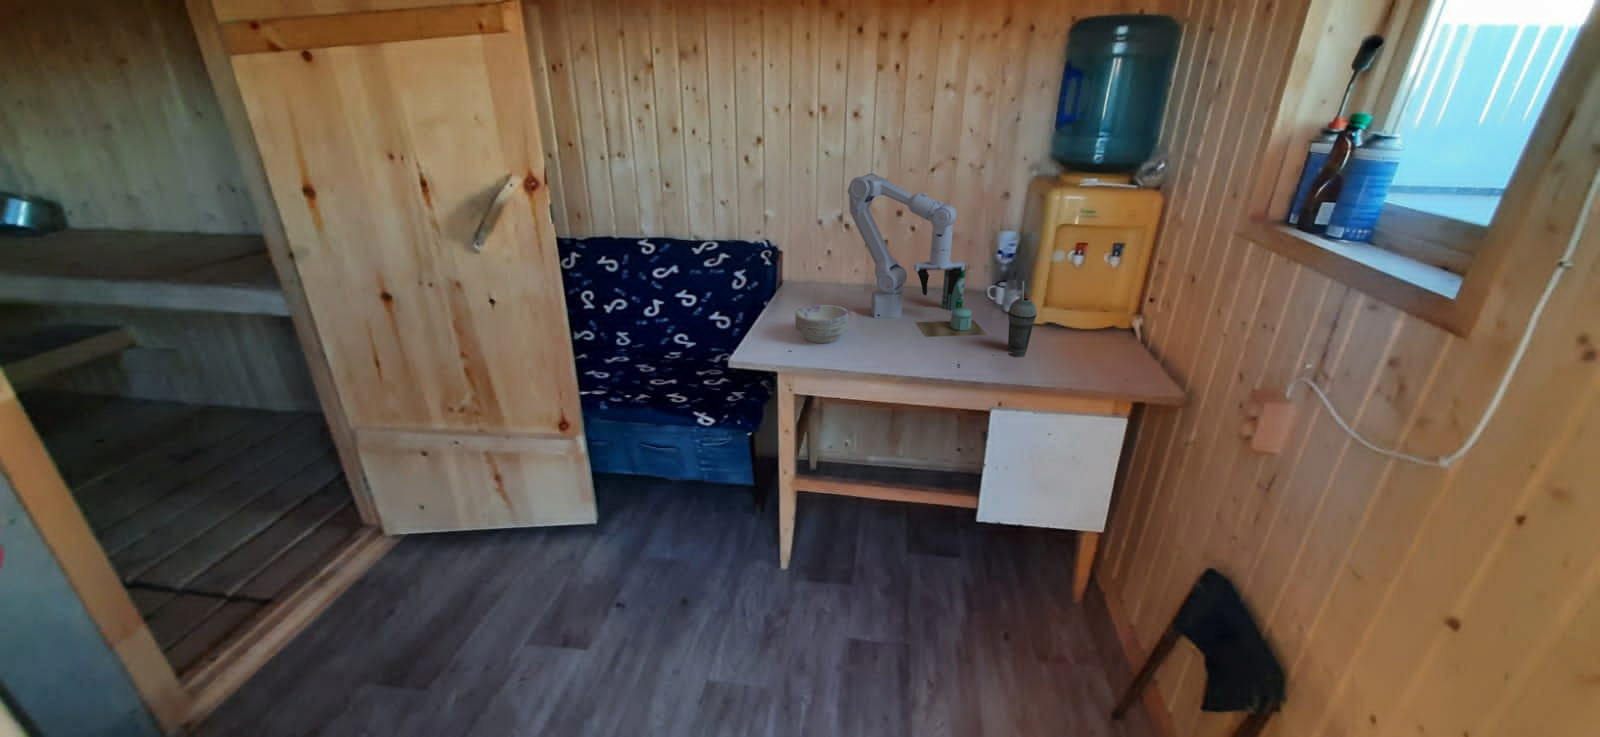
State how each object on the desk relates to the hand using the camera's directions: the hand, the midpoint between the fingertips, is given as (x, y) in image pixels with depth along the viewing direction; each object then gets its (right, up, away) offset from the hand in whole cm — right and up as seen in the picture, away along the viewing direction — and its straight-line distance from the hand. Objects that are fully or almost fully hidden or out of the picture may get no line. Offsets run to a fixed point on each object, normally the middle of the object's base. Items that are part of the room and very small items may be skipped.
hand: (937, 293), depth 193 cm
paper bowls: (-34, -13, -5) cm, 37 cm away
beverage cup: (+18, -18, -17) cm, 31 cm away
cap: (+6, -10, -2) cm, 12 cm away
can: (+8, -4, +17) cm, 19 cm away
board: (+3, -11, -1) cm, 12 cm away
